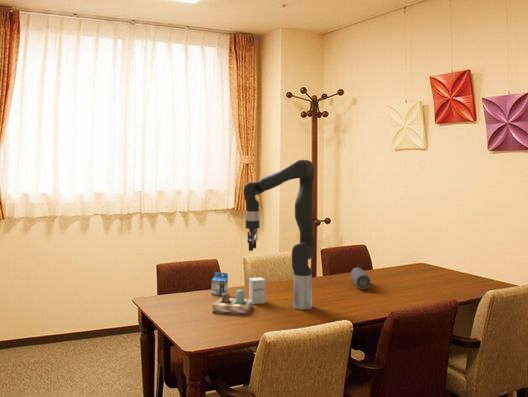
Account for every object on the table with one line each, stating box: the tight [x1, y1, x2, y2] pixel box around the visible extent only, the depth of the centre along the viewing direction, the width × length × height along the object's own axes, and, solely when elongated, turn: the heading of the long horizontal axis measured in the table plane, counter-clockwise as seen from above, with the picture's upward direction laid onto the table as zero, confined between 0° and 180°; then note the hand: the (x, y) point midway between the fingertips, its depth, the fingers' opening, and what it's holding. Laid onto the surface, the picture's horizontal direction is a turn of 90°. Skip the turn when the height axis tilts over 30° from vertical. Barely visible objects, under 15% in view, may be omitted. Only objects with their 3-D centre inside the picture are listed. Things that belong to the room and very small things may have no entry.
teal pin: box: [235, 289, 245, 304], centre depth 256 cm, size 4×4×9 cm
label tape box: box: [210, 271, 229, 297], centre depth 287 cm, size 9×4×12 cm, turn 62°
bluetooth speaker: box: [350, 267, 372, 290], centre depth 307 cm, size 23×9×10 cm, turn 179°
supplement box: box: [248, 277, 266, 305], centre depth 271 cm, size 7×7×13 cm
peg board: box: [212, 292, 254, 316], centre depth 257 cm, size 17×14×8 cm
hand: (252, 249), depth 275 cm, fingers open, 8 cm apart
